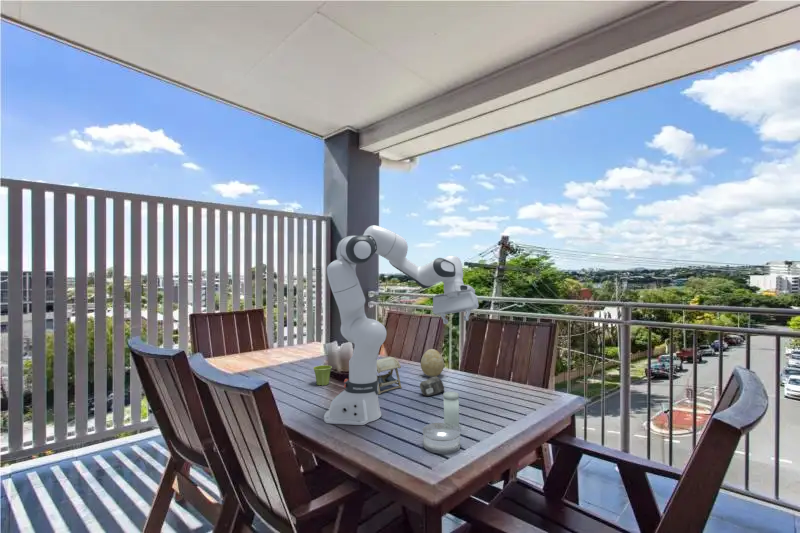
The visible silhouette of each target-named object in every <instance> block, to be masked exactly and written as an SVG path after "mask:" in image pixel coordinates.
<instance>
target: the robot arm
mask: <svg viewBox="0 0 800 533" xmlns="http://www.w3.org/2000/svg"><path fill="white" fill-rule="evenodd" d="M407 242H408V241H406V239H405V238H404V237H403V236H401V235H400V234H397V233H396V232H394V231H392V230H390V229H388V228H385V227H383V226H380V225H375V224H374V225H370V226H368V227H367V228H366V229H365V230H364V232H363V234H361V235H348V236H343V237H342V238H340V240H338V242H337V243H336V246H335V253H334V257H333V258H334V260H333V261H332V262H330V263H329V264H328V265H327V268H326V273H327V279H328V283H329V287H330V289H331V293H332V295H333V297H334V300H335V303H336V305H337V308H338V312H339V317H340V322H341V324H340V334H341V335H342V337H343V338H344V339H345V340H347V342H349V343H351V344H354V348H353V352H352V356H351V357H350V359H349V361H348V378H345V379H344V381H343V390H342V391H341V392H340V393H339V394H337V395H336V396H335V397H333V399H332V400H331V403H330V406H329V409H328V410H326V412H325V413H324V415H323V421H324V423H326V424H335V425H354V426H363V425H366V424H368V423H371V422H374V421H376V420H378V419H380V418H381V417H382V411H381V408H380V402H379V394H378V379H377V376H378V372H377V360H378V357H379V352H380V349H381V346H382V345H383V344H384V342H385V341H386V339H387V333H388V332H387V328H386V327H385V325H384V324H382V323H381V322H380V321H378V320H376V319H373V318H368V317H367V314H366V311H365V304H366V297H365V294H364V292H363V288H362V286H361V283H360V280H359V278H358V275H357V272H356V269H357V265H361V264H365V263H367V262H368V261H370V260H371V258H372V257H373V255H374V254H377V255H378V256H380V257H382V258H384V259H386V260H387V261H388V262H389V264H390V265H391V266H392V267H393V268H395V269H397V271H399V272H401V273H402V274H405V276H407V277H408V278H410V279H412V280H413V281H414V282H415V283H416V284H417V285H418V286H419V287H421V288H423V289H430V288H431V287H434V285H436V284H438V283H439V282H442V283H443V293H441V294H436V295H435V296H434V297H433V298H432V302H433V303H432V313H433V314H434V315H435V316H440V317H441V319H442V321H443V324H444V325H448V324H449V320H448V318H446V315H449V314H455V313H462V312H466V313H465V315H464V316H463V320H464V321H465V322H468V321H469V317H470V315H471V311H473V310H477V309H478V308H479V299H478V296H477V294H476V290H475V288H474V287H472V286H471V285H469V284H465V283H464V281H463V280H464V269H463V263H462V261H461V259H460V258H459V256H455V255H447V256H445V257H444V258H443V257H436V258H435V259H433V260H431V261H429V262H427V263H426V264H425V265H421V266H420V265H416V264H415V263H413V262H412V261H410V260H409V259H407V258H406V256H407V254H408V251H409V250H408V248H409V246H408V243H407Z"/></svg>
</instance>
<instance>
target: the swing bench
mask: <svg viewBox="0 0 800 533" xmlns="http://www.w3.org/2000/svg"><path fill="white" fill-rule="evenodd" d="M399 369H401V364H400V362H399V360H398V359H396V358H395V357H393V356H388V357H384V358H380V359H377V374H378V375H377V379H378V396H379V395H381V393H385V392H389V391H393V390H394V389H402V384H401V379H400V375H399ZM394 370H395V371H394ZM387 371H388V372H387ZM383 372H387V373H385V374H380V373H383ZM393 372H395V375H396V378H397V379H396V378H394V377H393ZM393 384H394V385H396V386H394V387H391V388H387V389H383V390H381V388H383V387H387V386H391V385H393ZM397 385H398V386H397Z"/></svg>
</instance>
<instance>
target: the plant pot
mask: <svg viewBox="0 0 800 533" xmlns="http://www.w3.org/2000/svg"><path fill="white" fill-rule="evenodd" d="M332 368H333V367H332V365H326V364H325V365H316V366H314V367H313V368H312V369H313V371H314V375H315V382H316V385H317V386H320V385H322V386H321V387H323V385H324V386H327V385H329V383H330V376H331V371H332Z"/></svg>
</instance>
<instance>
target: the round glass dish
mask: <svg viewBox="0 0 800 533" xmlns="http://www.w3.org/2000/svg"><path fill="white" fill-rule="evenodd" d="M422 434H423V435H422V436H423V438H422V439H423V441H422V444H423V447H424V449H425V450H426V451H428V452H430V453H434V454H440V455H448V454H449V455H450V454H452V453H456V452H457V451H460V448H461V434H462V432H461V429H460V427H459V428H458V427H457V426H455V425H452V424H448V423H444V422H434V423H433V422H432V423H429V424H427V425H424V426H423V428H422Z"/></svg>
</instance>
